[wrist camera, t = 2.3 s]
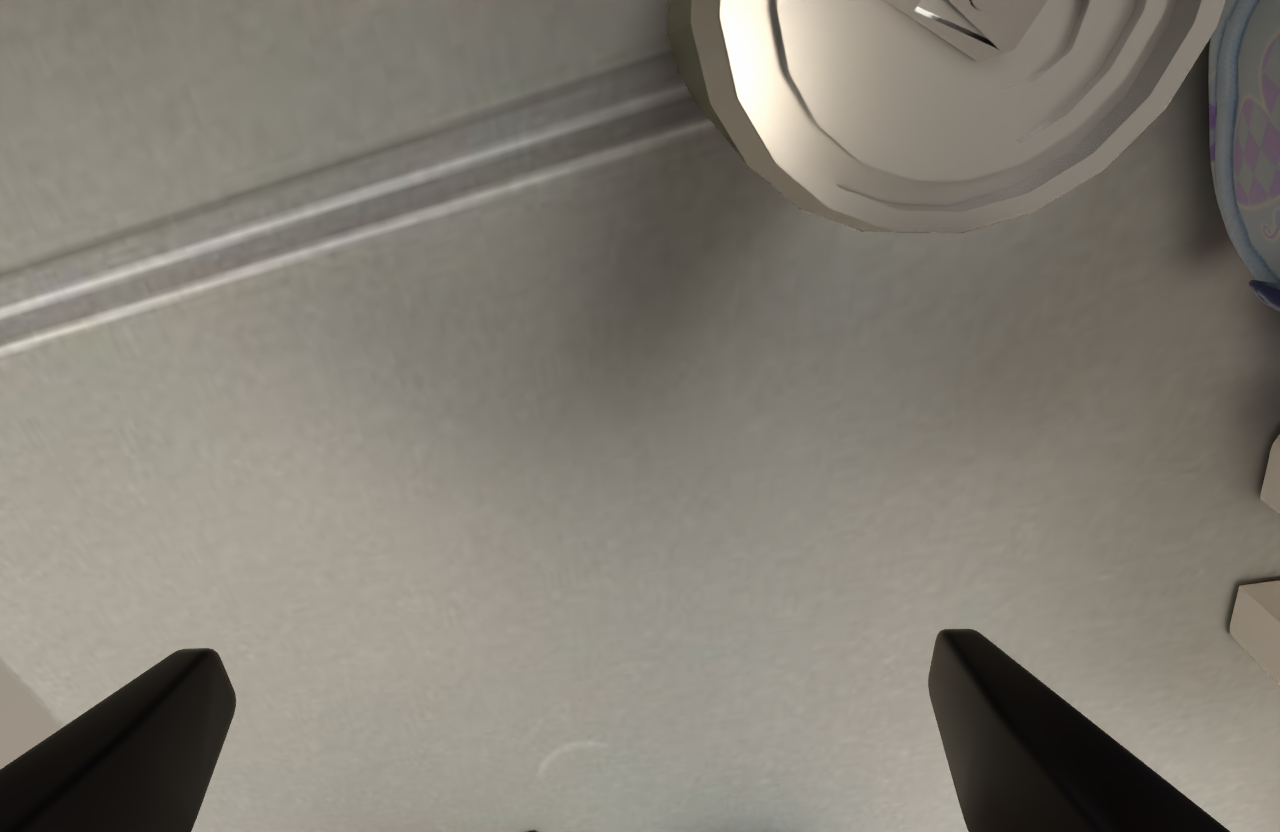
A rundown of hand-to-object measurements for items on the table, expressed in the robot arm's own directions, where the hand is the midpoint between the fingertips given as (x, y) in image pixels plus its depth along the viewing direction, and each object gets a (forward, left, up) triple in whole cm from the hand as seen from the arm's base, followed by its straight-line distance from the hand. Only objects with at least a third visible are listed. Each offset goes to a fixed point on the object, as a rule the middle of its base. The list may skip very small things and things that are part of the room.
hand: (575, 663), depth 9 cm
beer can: (+6, -6, -14) cm, 16 cm away
